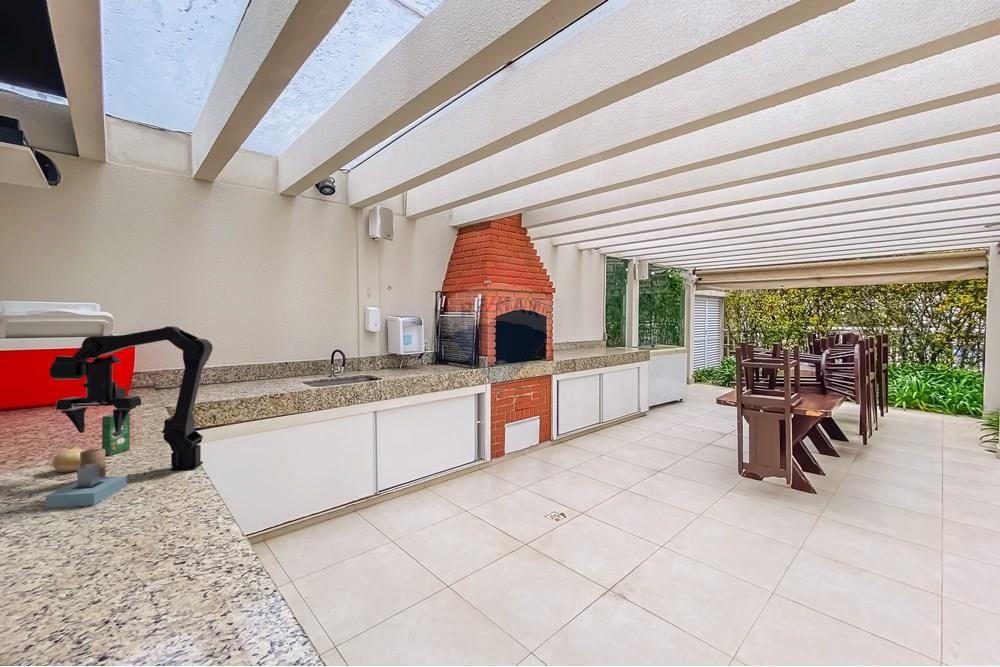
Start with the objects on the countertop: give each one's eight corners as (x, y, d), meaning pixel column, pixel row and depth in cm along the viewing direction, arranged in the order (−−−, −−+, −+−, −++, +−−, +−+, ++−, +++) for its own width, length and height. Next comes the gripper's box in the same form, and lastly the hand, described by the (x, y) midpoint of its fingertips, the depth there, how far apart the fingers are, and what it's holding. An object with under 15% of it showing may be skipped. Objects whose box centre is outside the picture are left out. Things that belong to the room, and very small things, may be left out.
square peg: (100, 494, 113) (99, 463, 113) (91, 499, 110) (91, 467, 110) (86, 495, 113) (86, 464, 113) (77, 499, 110) (77, 467, 110)
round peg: (110, 476, 127) (109, 448, 127) (97, 482, 122) (96, 453, 122) (89, 476, 126) (89, 449, 126) (75, 483, 121) (75, 454, 121)
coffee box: (122, 449, 154) (122, 411, 153) (130, 449, 154) (130, 411, 153) (101, 456, 146) (100, 416, 145) (109, 456, 146) (109, 416, 145)
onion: (96, 467, 134) (95, 444, 134) (63, 476, 127) (62, 451, 126) (79, 465, 137) (78, 442, 137) (45, 473, 129) (45, 449, 129)
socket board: (126, 487, 118) (126, 476, 118) (94, 505, 107) (94, 493, 106) (84, 489, 117) (83, 478, 117) (45, 508, 105) (45, 495, 105)
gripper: (152, 375, 139) (152, 424, 139) (83, 376, 135) (84, 426, 136) (128, 379, 128) (129, 433, 128) (53, 380, 124) (54, 435, 125)
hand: (100, 432), depth 129 cm, fingers open, 9 cm apart
